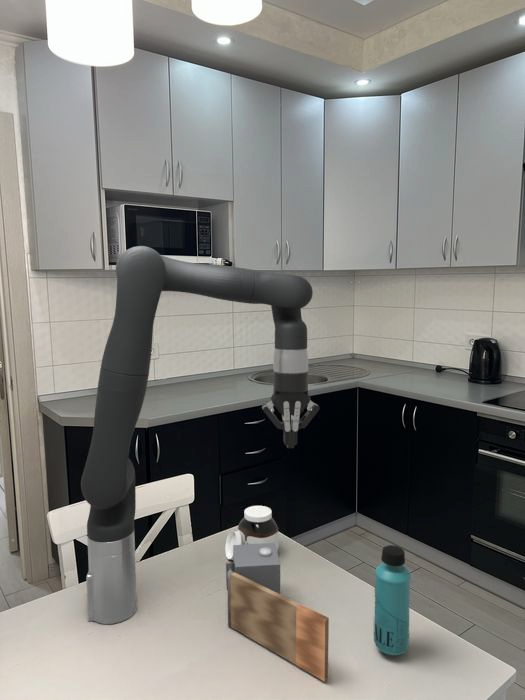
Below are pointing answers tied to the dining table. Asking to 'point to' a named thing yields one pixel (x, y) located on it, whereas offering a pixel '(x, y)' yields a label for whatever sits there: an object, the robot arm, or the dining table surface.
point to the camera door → (279, 624)
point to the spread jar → (253, 530)
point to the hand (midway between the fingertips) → (290, 446)
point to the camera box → (257, 564)
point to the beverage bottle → (392, 602)
